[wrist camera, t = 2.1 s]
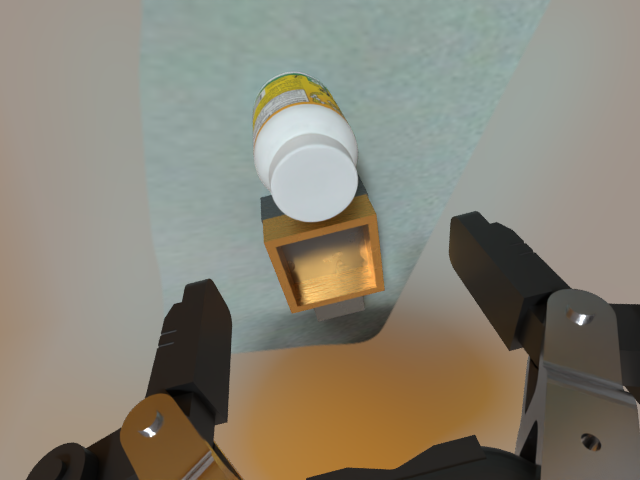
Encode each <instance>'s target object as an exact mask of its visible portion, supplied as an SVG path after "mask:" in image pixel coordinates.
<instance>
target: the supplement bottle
mask: <svg viewBox="0 0 640 480" xmlns="http://www.w3.org/2000/svg"><path fill="white" fill-rule="evenodd" d="M253 147H254V163H255V167H256V171H257V173H258V176H259V178H260V180H261V181H262V183H263V184H264V186H265V187H266V188H267V189H268V190H269V191H270V192H271V194H272V197H273V200H274V202H275V203H276V205H277V206H278V208H279V209H280V210H281V211H282V212H283V213H284V214H286V215H287V216H289V217H291V218H293V219H296V220H299V221H303V222H319V221H324V220H327V219H330V218H332V217H334V216H336V215H338V214H339V213H341V212H342V211H343V210H344V209H345V208H346V207H347V206H348V205H349V204H350V203H351V201H352V200H353V198H354V196H355V193H356V191H357V186H358V175H357V170H356V165H357V159H358V147H357V142H356V138H355V135H354V133H353V131H352V129H351V127H350V125H349V124H348V122H347V120H346V119H345V117H344V116H343V114H342V112H341V111H340V109H339V107H338V105H337V104H336V102H335V101H334V99H333V97H332V95H331V94H330V92H329V91H328V89H327V88H326V87H325V86H324V85H323V84H322V83H321V82H320V81H318V80H317V79H315V78H313V77H312V76H310V75H307V74H305V73H301V72H286V73H282V74H279V75H277V76H275V77H273V78H272V79H270V80H269V81H268V82H267V83H266V84H265V85H264V86H263V87H262V88H261V90H260V91H259V93H258V95H257V97H256V99H255V102H254V107H253Z"/></svg>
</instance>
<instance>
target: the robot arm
mask: <svg viewBox="0 0 640 480" xmlns="http://www.w3.org/2000/svg"><path fill="white" fill-rule="evenodd" d="M449 242H450V243H449V257H450V261H451V264H452V266H453V268H454V270H455V271H456V273H457V274H458V276H459V277H460V278H461V280H462V282H463V283H464V285H465V286H466V288H467V289H468V290H469V292H470V294H471V295H472V296H473V298H474V299H475V301H476V302H477V304H478V305H479V307H480V308H481V310H482V311H483V313H484V314H485V316H486V317H487V319H488V320H489V322H490V323H491V324H492V326H493V327H494V329H495V330H496V332H497V333H498V335H499V336H500V338H501V339H502V341H503V342H504V344H505V345H506V347H507V348H508V350H509V351H511V350H515V349H519V348H524V349H525V351H526V352H527V353H528V354H529V357H528V361H527V369H526V379H525V388H524V398H523V407H522V416H521V423H520V428H519V432H518V437H517V442H516V448H515V454H513V453H511V452H507V451H504V450H501V449H497V448H491V447H485V446H480V444H479V442H478V440H477V438H476V436H475V435H472V436H468V437H464V438H461V439H457V440H453V441H449V442H445V443H441V444H438V445H434V446H432V447H431V448H429V449H427V450H426V451H424V452H422V453H421V454H419V455H417V456H416V457H415V458H413V459H411V460H409V461H408V462H406V463H405V464H403V465H401V466H400V467H398V468H396V469H392V470H386V469H366V468H344V469H340V470H336V471H332V472H329V473H325V474H321V475H317V476H313V477H309V478H306V480H640V428H639V419H638V410H637V405H636V401H637V402H638V403H639V404H640V305H638V304H637V305H636V304H608V303H607V302H606V301H604V300H603V299H602V298H600V297H598V296H597V295H595V294H592V293H589V292H587V291H583V290H578V289H572V288H570V287H569V286H568V285H567V284H566V283H565V282H564V281H563V280H562V279H561V278H560V277H559V276H558V275H557V274H556V273H555V272H554V271H553V270H552V269H551V268H550V267H549V266H548V265H547V264H546V263H545V262H544V261H543V260H542V259H541V258H540V257H539V256H538V255H537V254H536V253H533V250H532V249H531V248H530V247H529V246H528V245H527V244H524V241H523V240H522V239H521V238H520V237H519V236H518V235H517V234H516V233H515V232H514V231H513V230H511V229H509V228H507V227H505V226H503V225H501V224H499V223H497V222H496V223H492V224H490V223H489V222H488V221H487V220H486V219H485V218H484V217H483V216H482V215H481V214H480V213H479V212H477V211H474V212H470V213H466V214H462V215H458V216H454V217H452V219H451V223H450V241H449ZM161 335H162V336H160V340H159V344H158V346H159V348H158V349H157V352H156V356H155V360H154V364H153V368H152V372H151V377H150V381H149V385H148V389H147V393H146V396H145V399H143V400H142V401H140V402H139V403H138V404H137V405H136V406H135V407H134V408H133V409H132V410H131V411H130V412H129V414H128V415H127V417H126V418H125V420H124V422H123V425H122V427H121V428H120V429H118V430H117V431H115V432H113V433H112V434H110V435H108V436H106V437H105V438H103V439H101V440H100V441H98V442H96V443H95V444H93V445H91V446H89V447H87V448H84V447H83V446H81V445H79V444H77V443H67V444H63V445H60V446H58V447H56V448H55V449H53V450H52V451H50V452H49V453H48V454H47V455H45V456H44V457H43V458H42V459H41V460H40V461H39V462H38V463H37V464H36V465H35V467H34V468H33V469H32V471H31V472H30V474H29V475H28V477H27V479H26V480H244V479H243V478H242V476H241V475H240V474H239V472H238V471H237V470H236V468H235V467H234V466H233V464H232V463H231V462H230V460H228V458H227V457H226V456H225V454H224V453H223V451H222V450H221V449H220V447H219V446H218V445H217V443H216V442H215V441H214V439H213V438H214V427H215V425H218V424H222V423H226V422H227V418H228V398H229V377H230V358H231V338H232V319H231V314H230V311H229V309H228V307H227V305H226V303H225V301H224V300H223V298H222V296H221V294H220V292H219V291H218V289H217V287H216V285H215V284H214V282H213V281H212V280H211V279H206V280H202V281H198V282H194V283H190V284H187V285H186V286H185V289H184V294H183V299H182V302H180V303H176V304H174V305H173V306H172V308H171V309H170V311H169V313H168V314H167V316H166V317H165V319H164V323H163V327H162V331H161ZM623 386H625V387H626V388H627V390H628V391H629V392H630V393H629V392H626V391H624V389H623ZM635 399H636V401H635Z"/></svg>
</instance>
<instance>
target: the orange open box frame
mask: <svg viewBox="0 0 640 480" xmlns="http://www.w3.org/2000/svg"><path fill="white" fill-rule="evenodd" d="M357 175H358V173H357ZM261 220H262V223H263V234H264V244H265V247H266V249H267V252H268V254H269V257H270V259H271V262H272V264H273V267H274V269H275V272H276V274H277V277H278V280H279V282H280V285H281V287H282V290H283V292H284V295H285V297H286V300H287V302H288V305H289V307H290V310H291V312H292V313H296V312H300V311H304V310H308V309H312V308H314V310H315V313H316V316H317V319H318V322H319V321H323V320H327V319H331V318H335V317H339V316H343V315H347V314H351V313H355V312H359V311H363V310H365V307H364V301H363V296H364V295H368V294H372V293H376V292H380V291H384V290H385V289H384V280H383V271H382V262H381V253H380V244H379V235H378V226H377V216H376V213H375V211H374V209H373V207H372V205H371V203H370V201H369V199H368V193H367V191H366V189H365V187H364V185H363V183H362V181H361V179H360V177H359V175H358V186H357V191H356V193H355V196H354V198H353V200H352V201H351V203H350V204H349V205H348V206H347V207H346V208H345V209H344V210H343V211H342V212H341V213H339V214H338V215H336V216H334V217H332V218H330V219H327V220H324V221H319V222H303V221H299V220H296V219H293V218H291V217H289V216H287V215H286V214H284V213H283V212H282V211H281V210H280V209H279V208H278V206H277V205H276V203H275V202H274V200H273V197H272V195H270V196H266V197H262V198H261Z"/></svg>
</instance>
